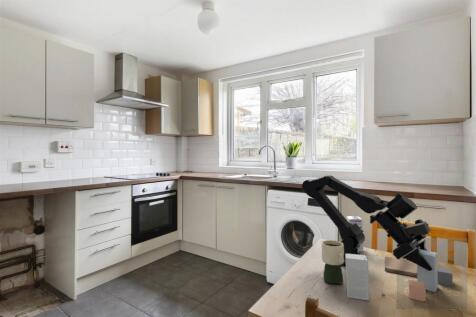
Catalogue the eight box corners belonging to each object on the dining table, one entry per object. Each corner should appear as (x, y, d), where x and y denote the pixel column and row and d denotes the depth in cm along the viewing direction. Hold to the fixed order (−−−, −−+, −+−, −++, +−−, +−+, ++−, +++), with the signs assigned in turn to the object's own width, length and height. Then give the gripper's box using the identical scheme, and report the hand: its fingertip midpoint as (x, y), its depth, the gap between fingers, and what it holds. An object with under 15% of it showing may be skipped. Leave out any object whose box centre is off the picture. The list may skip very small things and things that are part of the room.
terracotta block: (409, 298, 76) (408, 284, 76) (408, 292, 79) (408, 279, 79) (425, 302, 74) (425, 288, 74) (424, 295, 77) (423, 282, 77)
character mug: (353, 287, 82) (352, 247, 82) (333, 290, 81) (333, 249, 80) (332, 272, 93) (332, 237, 93) (315, 275, 91) (314, 239, 91)
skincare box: (367, 293, 78) (366, 255, 78) (369, 301, 74) (368, 260, 74) (345, 290, 80) (345, 253, 80) (346, 297, 76) (346, 258, 76)
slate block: (417, 287, 82) (416, 252, 82) (420, 282, 85) (420, 249, 85) (435, 292, 78) (434, 256, 78) (437, 287, 81) (437, 252, 81)
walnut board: (384, 270, 94) (384, 267, 94) (385, 259, 104) (385, 256, 104) (425, 278, 88) (425, 274, 88) (421, 265, 98) (421, 262, 98)
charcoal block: (437, 283, 84) (436, 271, 84) (435, 278, 88) (434, 266, 88) (452, 286, 82) (452, 273, 82) (450, 280, 86) (449, 269, 86)
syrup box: (363, 251, 113) (363, 219, 113) (349, 251, 114) (349, 218, 114) (360, 247, 118) (359, 216, 118) (346, 246, 119) (346, 215, 119)
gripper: (404, 217, 78) (451, 263, 70) (418, 208, 91) (460, 246, 83) (376, 237, 84) (417, 282, 76) (394, 226, 96) (430, 263, 88)
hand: (432, 267), depth 80 cm, fingers closed on slate block, 4 cm apart
